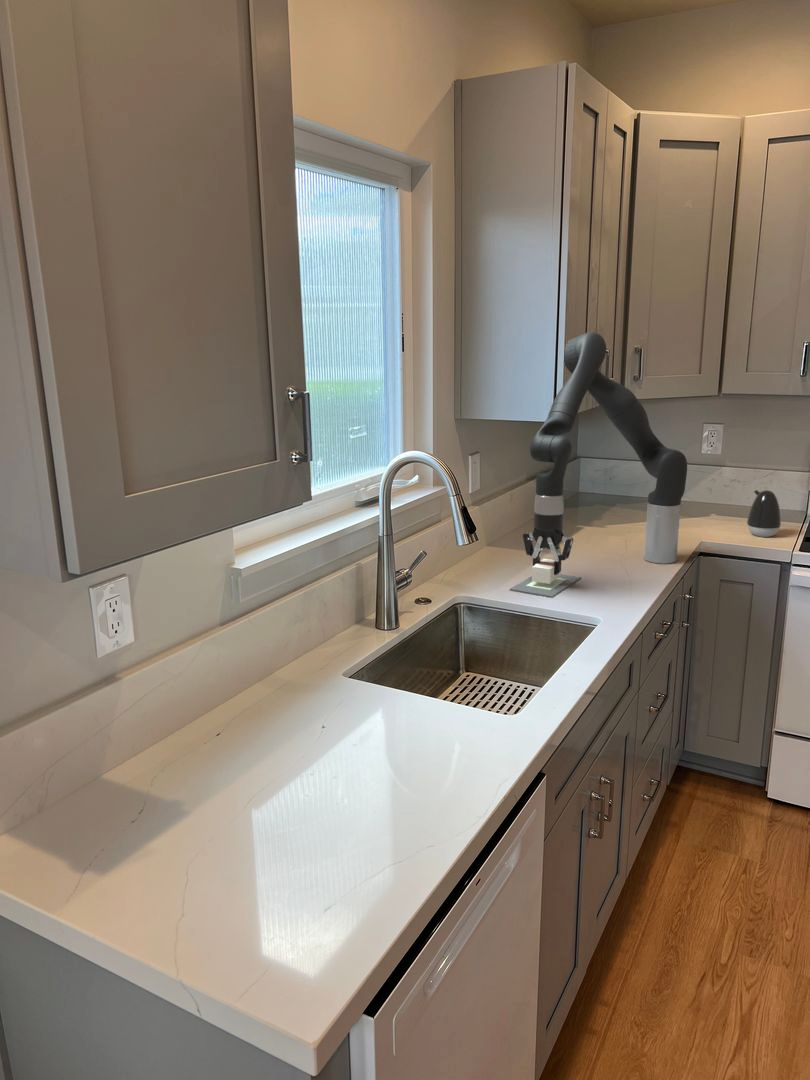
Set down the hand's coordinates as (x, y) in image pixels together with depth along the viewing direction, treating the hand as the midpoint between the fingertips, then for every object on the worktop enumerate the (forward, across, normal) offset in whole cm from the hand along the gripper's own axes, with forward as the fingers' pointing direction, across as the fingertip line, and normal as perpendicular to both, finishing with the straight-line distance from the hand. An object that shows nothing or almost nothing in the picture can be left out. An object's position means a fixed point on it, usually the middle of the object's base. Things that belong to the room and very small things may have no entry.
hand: (546, 572), depth 214 cm
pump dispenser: (+4, +39, +88) cm, 96 cm away
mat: (+3, 0, 0) cm, 3 cm away
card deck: (+2, 0, 0) cm, 2 cm away
